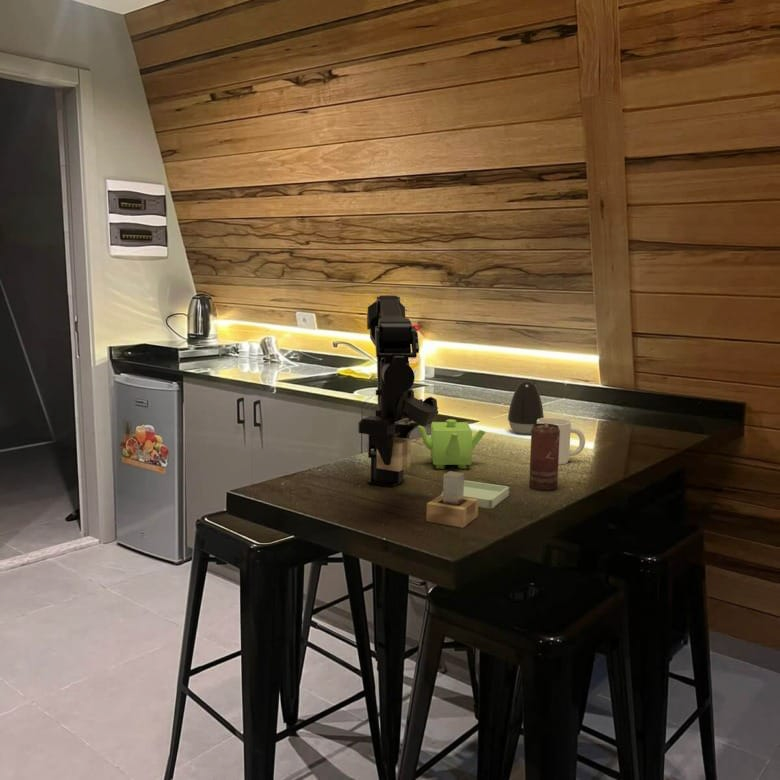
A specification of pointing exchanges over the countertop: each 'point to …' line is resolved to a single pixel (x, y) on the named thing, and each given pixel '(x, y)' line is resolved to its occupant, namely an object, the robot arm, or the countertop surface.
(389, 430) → the robot arm
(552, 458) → the can
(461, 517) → the oak block
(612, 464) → the countertop surface
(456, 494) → the grey wood bar
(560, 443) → the mug
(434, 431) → the kettle
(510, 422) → the dark tapered diffuser
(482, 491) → the tray
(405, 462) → the beech block
